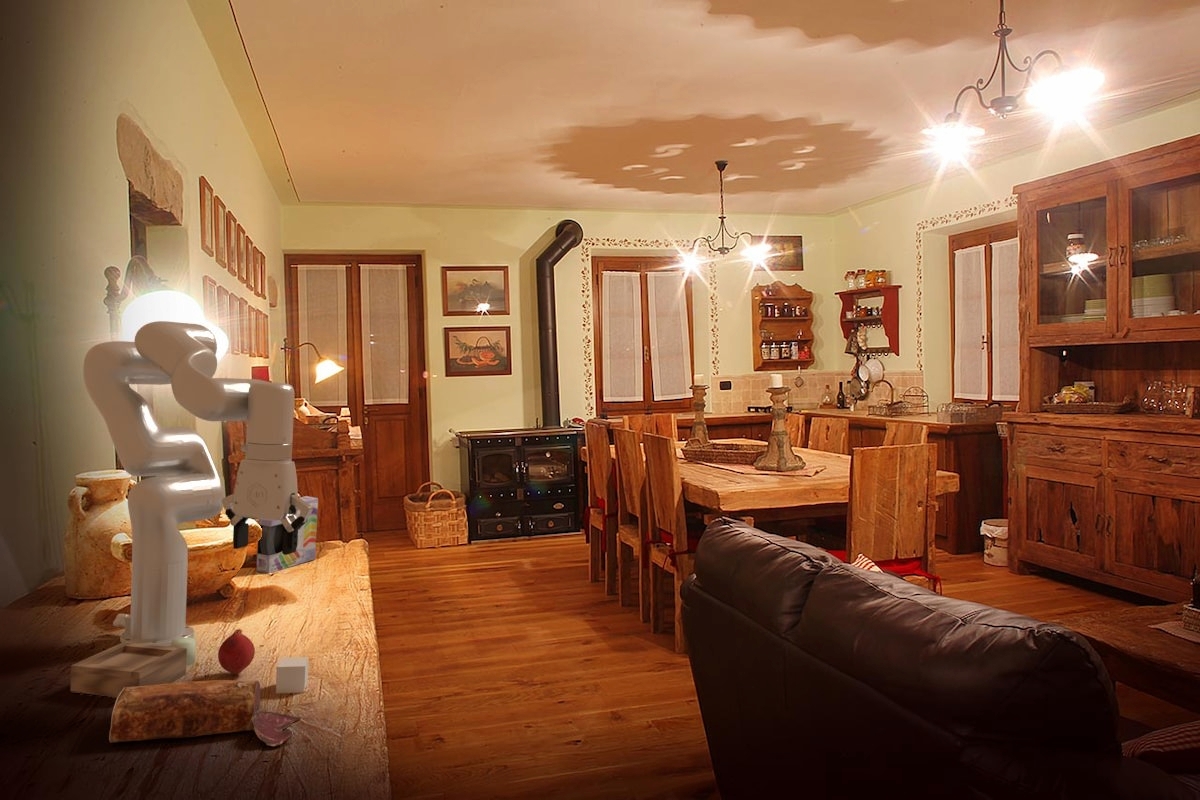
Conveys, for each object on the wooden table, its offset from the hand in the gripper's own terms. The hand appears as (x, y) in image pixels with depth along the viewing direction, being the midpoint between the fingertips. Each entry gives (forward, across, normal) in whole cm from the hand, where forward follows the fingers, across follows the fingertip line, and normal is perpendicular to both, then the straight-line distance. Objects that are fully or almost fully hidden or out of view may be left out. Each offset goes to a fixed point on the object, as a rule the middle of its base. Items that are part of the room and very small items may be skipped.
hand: (264, 550), depth 147 cm
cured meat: (+22, +8, -22) cm, 32 cm away
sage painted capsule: (+22, -15, -1) cm, 27 cm away
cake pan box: (+22, -41, +69) cm, 83 cm away
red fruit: (+22, -3, -2) cm, 22 cm away
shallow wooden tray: (+22, -16, -12) cm, 29 cm away
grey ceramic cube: (+22, +9, -4) cm, 24 cm away
